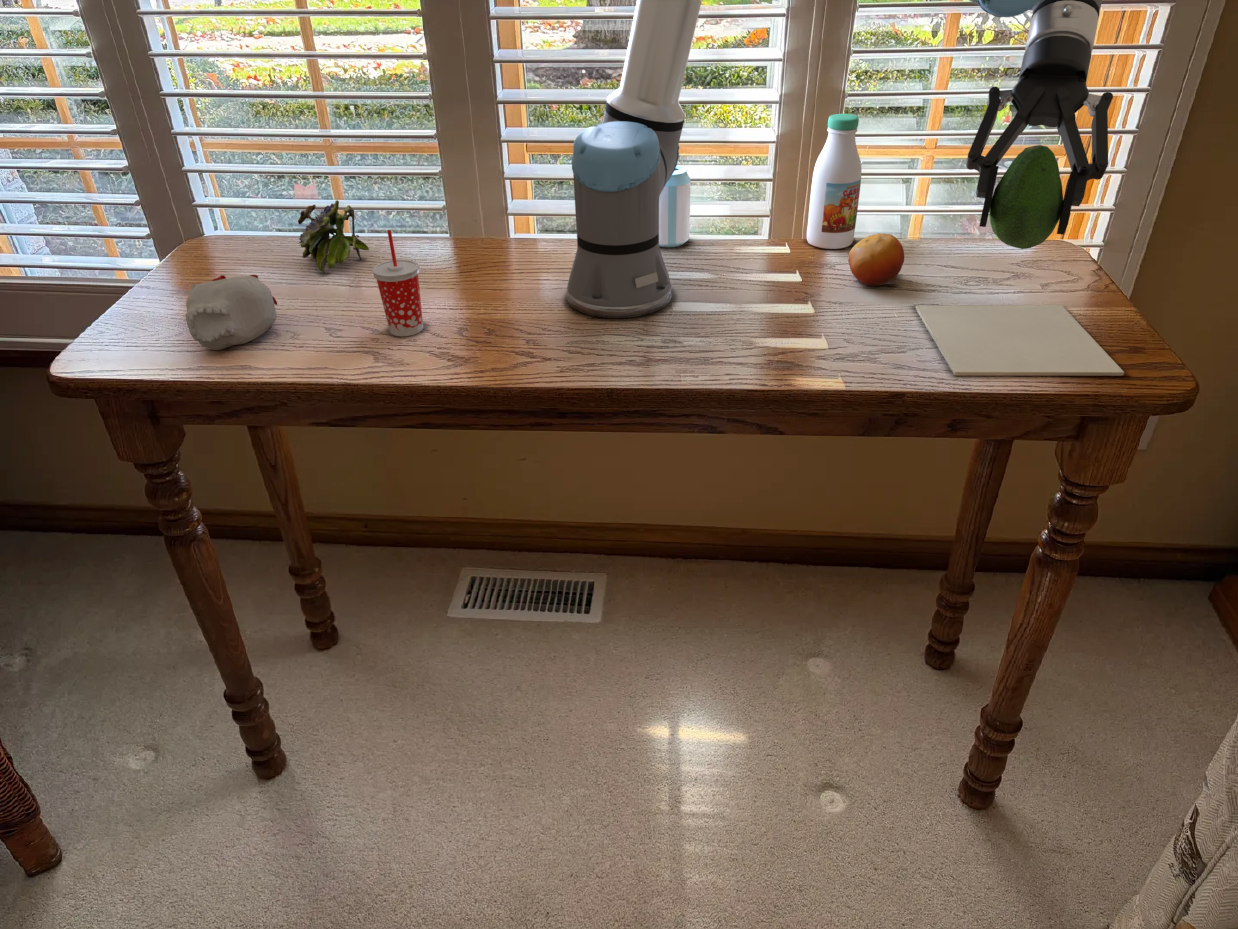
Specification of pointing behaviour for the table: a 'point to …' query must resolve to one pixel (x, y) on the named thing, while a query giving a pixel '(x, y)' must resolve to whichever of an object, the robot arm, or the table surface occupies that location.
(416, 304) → the beverage cup
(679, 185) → the can
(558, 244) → the table surface
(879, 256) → the fruit
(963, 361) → the corner mat
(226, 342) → the grey rounded lump
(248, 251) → the table surface
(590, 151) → the robot arm
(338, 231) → the passion flower
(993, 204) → the avocado
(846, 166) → the milk bottle
